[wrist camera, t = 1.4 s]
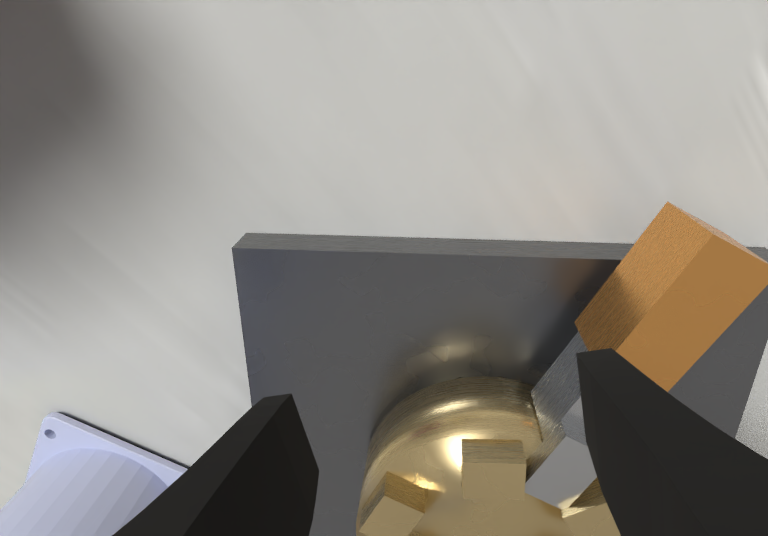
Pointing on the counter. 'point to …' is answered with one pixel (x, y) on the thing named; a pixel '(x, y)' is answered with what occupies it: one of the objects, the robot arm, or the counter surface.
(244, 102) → the counter surface
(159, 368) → the counter surface
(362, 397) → the plate
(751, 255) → the tan round handled piece
